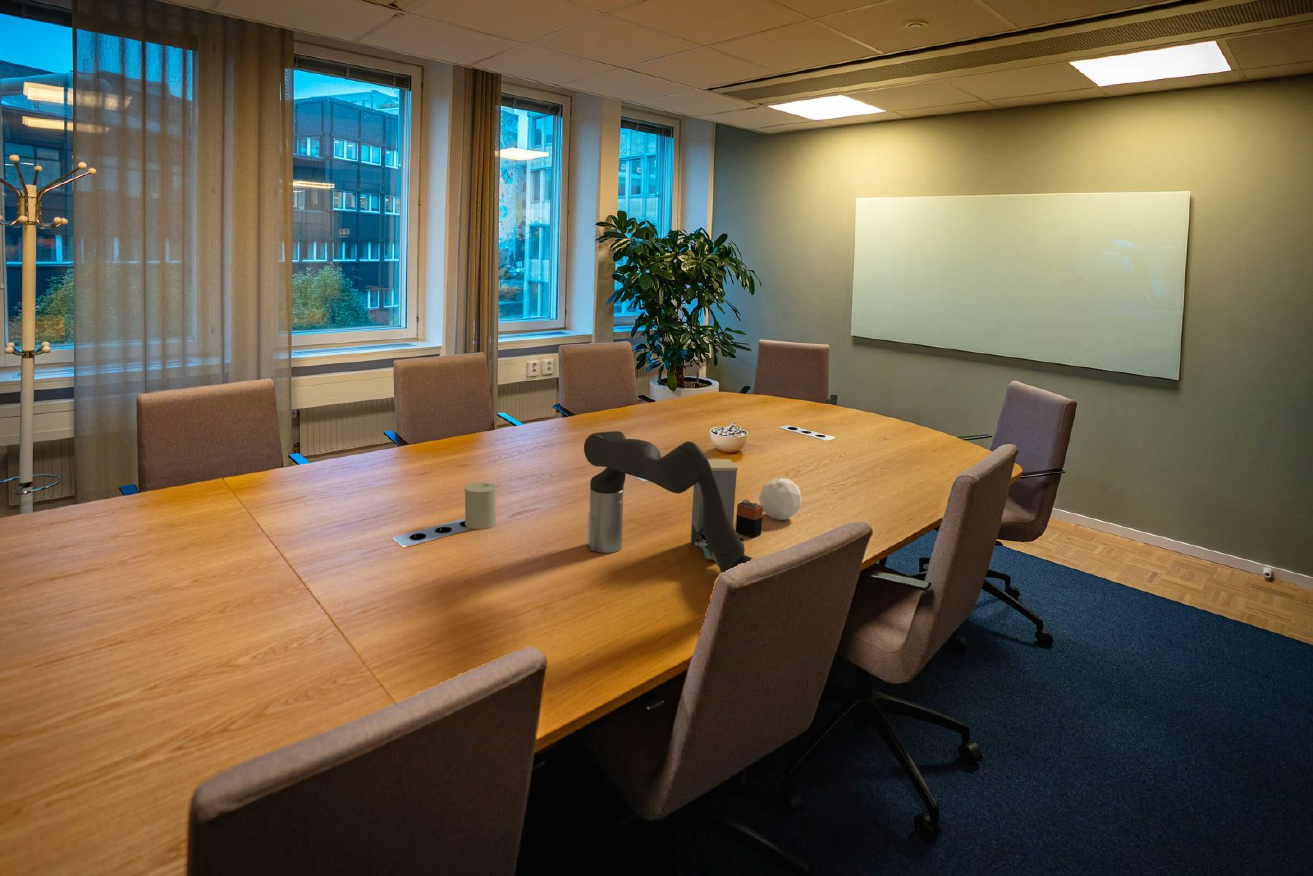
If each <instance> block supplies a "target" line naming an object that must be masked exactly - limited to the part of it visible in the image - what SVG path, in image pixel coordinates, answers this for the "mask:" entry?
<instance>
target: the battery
mask: <svg viewBox="0 0 1313 876" xmlns="http://www.w3.org/2000/svg"><path fill="white" fill-rule="evenodd" d="M736 505H737V506H736V518H735V531H736V532H737V534H739V535H742V536H747V537H750V538H756V537H758V536H760V535H762V526H763V525H762V524H763V513H764V512H763V506H761V504H759V503H757V502H751V501H750V500H749V499H742V502H739V503H737V504H736Z"/></svg>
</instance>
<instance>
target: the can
mask: <svg viewBox="0 0 1313 876" xmlns="http://www.w3.org/2000/svg"><path fill="white" fill-rule="evenodd" d="M496 493H497V486H496V485H495V484H493V483H489V482H473V483H469V484H466V485H465V487H464V504H465V505H464V507H465V509H464V510H465V511H464V515H465V520H464V525H465V527H467V528H468V529H473V530H486V529H487V530H488V529H491V528H493V527H495V526H497V513H496V512H497V511H496V508H497V505H496V501H497V499H496V498H497V497H496Z"/></svg>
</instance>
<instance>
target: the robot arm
mask: <svg viewBox="0 0 1313 876" xmlns="http://www.w3.org/2000/svg"><path fill="white" fill-rule="evenodd" d="M583 452H584V456H585V458H586V460H587V461H588V463H589V464H591V466H593V467H601V468H602V467H604V468H605V469H603V470H602V471H601V472H599V473H597V474H596V475H594V476H593V477H591V479H590V484H589V485H590V486H589V512H588V526H587V527H588V528H587V529H588V530H587V531H588V533H587V545H588V550H589V552H595V553H601V554H603V553H604V554H606V553H607V554H609V553H616V552H618V551H620V550H621V549H622V545H623V521H624V519H623V516H624V489H625V487H624V486H625V481H626V478H627V477H626V476H627V475H629V476H631V477H636V478H639V479H642V480H646V481H648V482H651V483H653V484H655V485H656V486H658V487H660V488H662V489H664V490H667V491H668V492H670V493H673V494H682V493H685V492H686V491H688V490H689V489H690V488H692V487H694V485H695V484H696V483H697V482H698V483H699V485H700V488H701V491H702V496H703V527H702V529H701V531H700V532H697V535H696V538H695V544H694V548H696V549H700V548H701V546H705V548H707V549H708V550H709V552H710V555H711V556H712V558H713V559H712V560H713V562H715V564H716V565H717V567H718V568H719V571H720V574H721V573H722V572H725V571H726V570H728V569H730V568H733V567H735V566H737V565H738V564H741V563H746V562H747V561H750V560H751V559H754V558H753V557H750V556H748V555H746V554H745V552H746V551H745V537H744V536H743V535H742V534H740V533H737V532H736V528H735V526H734V524H733V525H732V523H731V521H730V519H729V517H728V514H727V512H726V509H725V506H724V503H723V500H722V497H721V494H720V491H719V488H718V485H717V483H716V480H715V477H714V474H713V472H712V469H711V466H710V464H709V461H708V459H709V458H707V456H706V454H705V452H704V451H703V449H702V448H701V447H700V446H699V445H698V444H697V443H694V442H693V441H684V442H683V443H681V444H680V445H678V446H676V447H675V448H673V449H672V450H670V451H669V452H668V453H666V454H665V455H663V456H662V453H661V451H660V450H659V448H658V447H657V446H656V445H655V444H653V443H652V442H650V441H646V440H643V439H637V438H626V435H625V434H624V433H623V432H622V431H619V430H614V431H602V432H601V431H600V432H594V433H591V434H590V435H588V436H587V437H586V439H585V440H584V444H583ZM704 541H705V542H704Z"/></svg>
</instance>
